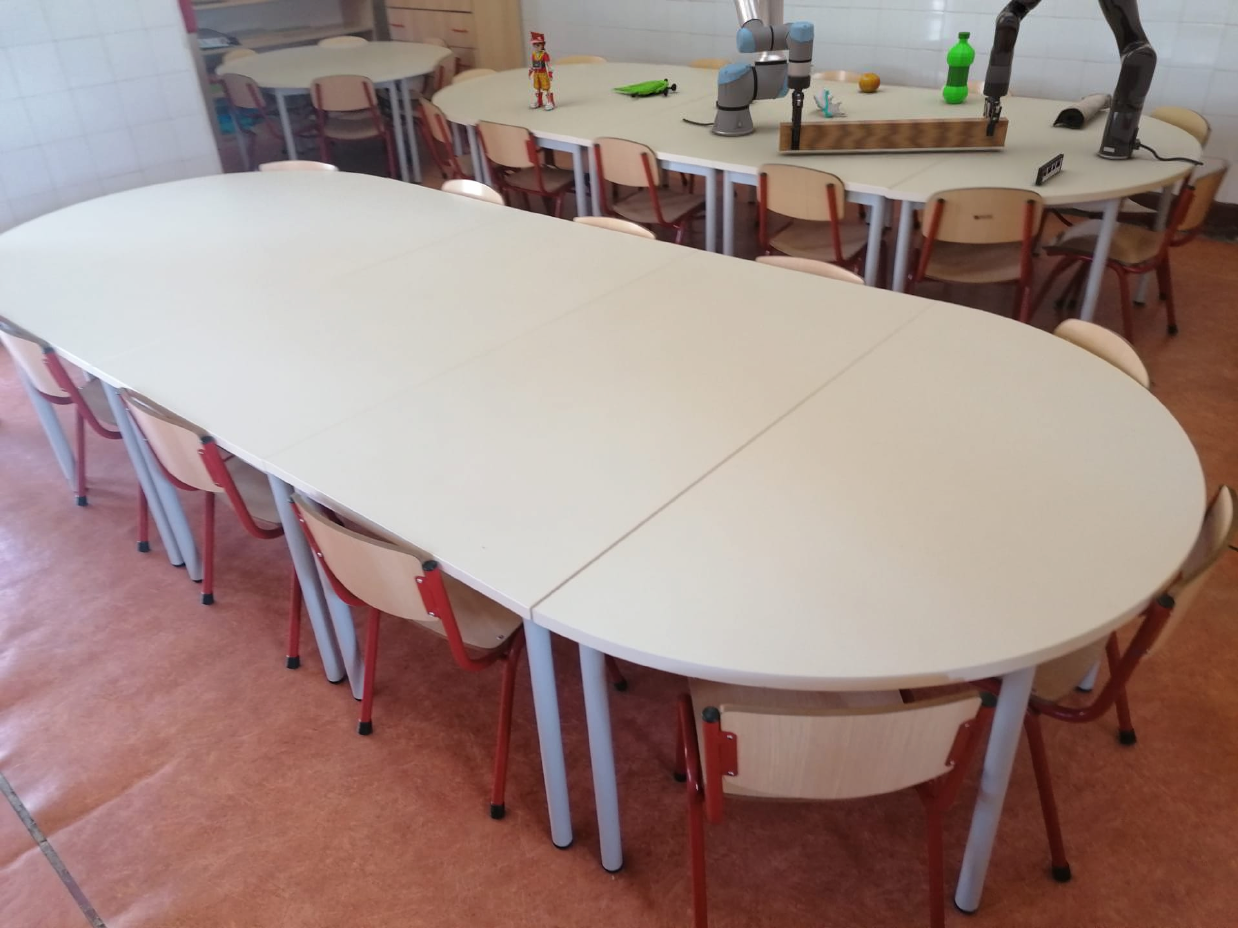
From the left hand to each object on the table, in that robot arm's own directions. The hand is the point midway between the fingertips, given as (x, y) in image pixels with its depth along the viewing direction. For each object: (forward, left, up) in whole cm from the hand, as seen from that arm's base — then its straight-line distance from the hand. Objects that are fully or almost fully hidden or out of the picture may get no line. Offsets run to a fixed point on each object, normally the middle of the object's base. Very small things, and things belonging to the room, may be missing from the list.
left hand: (794, 147), depth 307 cm
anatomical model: (-8, +56, -2) cm, 57 cm away
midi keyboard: (+81, +3, -2) cm, 81 cm away
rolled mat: (+81, +77, -2) cm, 112 cm away
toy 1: (-125, +28, -2) cm, 128 cm away
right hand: (+58, +25, +3) cm, 63 cm away
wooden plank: (+29, +13, -1) cm, 32 cm away
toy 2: (-98, +65, -2) cm, 117 cm away
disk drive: (-48, +57, -2) cm, 75 cm away
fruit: (-4, +95, -2) cm, 95 cm away
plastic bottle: (+32, +88, -2) cm, 93 cm away
